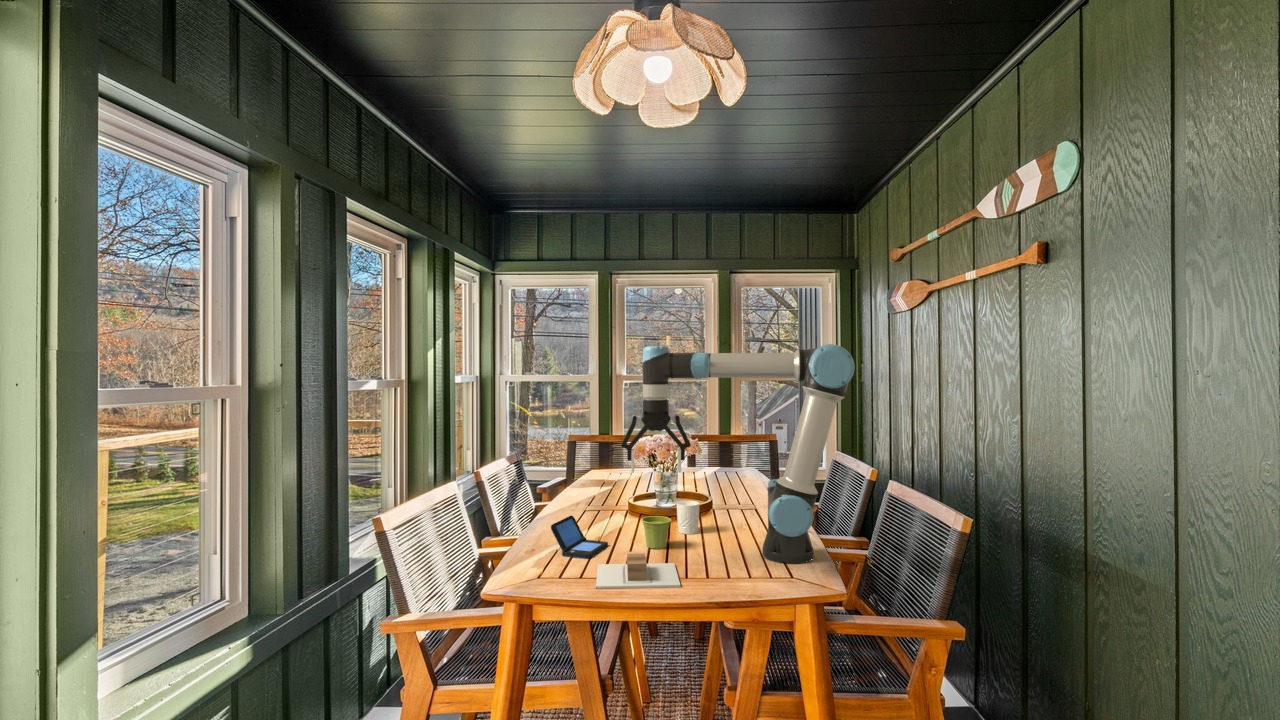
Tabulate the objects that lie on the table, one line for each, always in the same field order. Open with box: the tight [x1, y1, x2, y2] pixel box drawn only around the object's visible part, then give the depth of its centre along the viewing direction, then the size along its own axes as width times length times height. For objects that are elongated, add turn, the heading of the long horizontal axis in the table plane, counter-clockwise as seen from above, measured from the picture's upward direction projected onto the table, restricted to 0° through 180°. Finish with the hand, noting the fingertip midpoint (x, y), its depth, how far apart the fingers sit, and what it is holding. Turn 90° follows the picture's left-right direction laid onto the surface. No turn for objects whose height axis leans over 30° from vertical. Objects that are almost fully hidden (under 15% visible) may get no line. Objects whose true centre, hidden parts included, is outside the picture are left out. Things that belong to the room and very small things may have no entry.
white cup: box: [676, 500, 700, 535], centre depth 221 cm, size 8×8×10 cm
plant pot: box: [641, 515, 672, 550], centre depth 203 cm, size 9×9×9 cm
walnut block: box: [626, 551, 648, 581], centre depth 175 cm, size 11×5×4 cm, turn 2°
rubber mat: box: [595, 562, 681, 589], centre depth 175 cm, size 22×18×1 cm
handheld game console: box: [550, 515, 609, 559], centre depth 200 cm, size 16×13×9 cm
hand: (656, 471), depth 186 cm, fingers open, 13 cm apart
